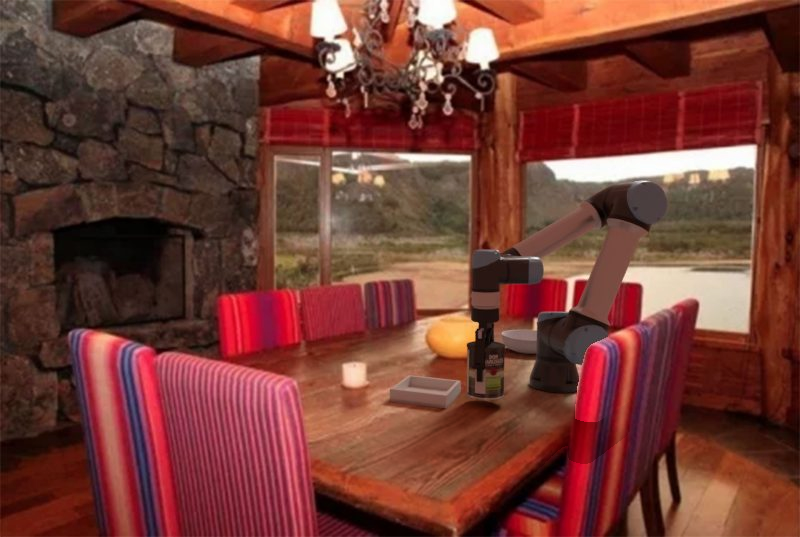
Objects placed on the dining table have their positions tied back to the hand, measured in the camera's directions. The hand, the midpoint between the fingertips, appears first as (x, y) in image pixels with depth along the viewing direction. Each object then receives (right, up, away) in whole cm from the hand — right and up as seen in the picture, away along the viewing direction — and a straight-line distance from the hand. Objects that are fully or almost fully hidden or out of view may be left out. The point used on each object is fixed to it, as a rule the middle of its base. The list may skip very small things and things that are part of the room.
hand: (484, 387), depth 159 cm
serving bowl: (+27, 0, +68) cm, 73 cm away
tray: (-16, -4, +6) cm, 17 cm away
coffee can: (0, -2, 0) cm, 2 cm away
